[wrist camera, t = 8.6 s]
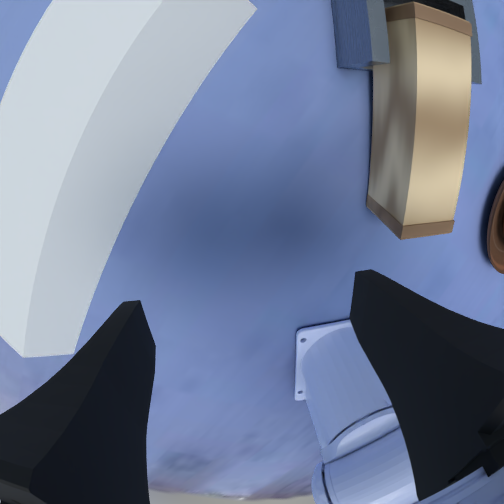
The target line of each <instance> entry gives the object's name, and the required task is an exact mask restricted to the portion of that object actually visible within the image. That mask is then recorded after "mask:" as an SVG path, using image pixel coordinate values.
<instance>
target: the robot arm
mask: <svg viewBox="0 0 504 504" xmlns="http://www.w3.org/2000/svg"><path fill="white" fill-rule="evenodd" d="M349 319H350V320H345V321H340V322H335V323H330V324H324V325H319V326H313V327H308V328H302V329H300V330H298V331H297V334H296V365H295V391H294V397H295V400H297V401H300V400H305V399H306V402H307V405H308V409H309V412H310V415H311V418H312V421H313V424H314V428H315V431H316V434H317V437H318V440H319V443H320V445H321V447H322V449H321V450H320V452H321V455H322V458H323V462H321V463H319V464H317V465H316V467H315V470H314V474H313V476H312V483H311V484H312V493H313V497H314V501H315V503H316V504H504V329H502V328H498V327H494V326H491V325H488V324H485V323H481V322H478V321H476V320H473V319H470V318H468V317H465V316H463V315H460V314H458V313H455V312H453V311H451V310H448V309H446V308H444V307H442V306H440V305H438V304H436V303H434V302H432V301H430V300H428V299H426V298H424V297H422V296H420V295H419V294H417V293H415V292H413V291H411V290H409V289H408V288H406V287H404V286H402V285H400V284H399V283H397V282H395V281H393V280H391V279H390V278H388V277H386V276H384V275H382V274H380V273H378V272H376V271H374V270H365V271H358V272H355V280H354V289H353V297H352V304H351V311H350V318H349ZM302 338H304V339H302ZM301 339H302V340H301ZM155 351H156V345H155V343H154V340H153V337H152V334H151V331H150V329H149V326H148V323H147V320H146V317H145V314H144V311H143V308H142V305H141V301H140V300H137V301H127V302H123V303H122V304H121V305H120V306H119V307H118V308H117V309H116V310H115V311H114V312H113V313H112V314H111V316H110V317H109V318H108V319H107V320H106V321H105V322H104V324H103V325H102V326H101V327H100V328H99V329H98V330H97V332H96V333H95V334H94V335H93V336H92V337H91V338H90V340H89V341H88V342H87V343H86V344H85V345H84V346H83V347H82V348H81V349H80V350H79V351H78V352H77V353H76V354H75V356H74V357H73V358H72V359H71V360H70V361H69V362H68V363H67V364H66V365H65V366H64V367H63V368H62V369H61V370H60V371H58V372H57V373H56V374H55V375H54V376H53V377H52V378H51V379H49V380H48V381H47V382H46V383H45V384H43V385H42V386H41V387H40V388H38V389H37V390H36V391H34V392H33V393H32V394H30V395H29V396H28V397H27V398H25V399H24V400H22V401H21V402H20V403H18V404H17V405H15V406H14V407H12V408H10V409H9V410H7V411H6V412H4V413H2V414H1V415H0V500H1V503H0V504H150V501H149V493H148V480H147V462H146V434H147V423H148V415H149V408H150V401H151V395H152V388H153V381H154V374H155Z"/></svg>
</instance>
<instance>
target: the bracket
mask: <svg viewBox="0 0 504 504" xmlns="http://www.w3.org/2000/svg"><path fill="white" fill-rule="evenodd" d="M409 2H417V3H420V4H423V5H426V6H429V7H432V8H435V9H438V10H441V11H443V12H446V13H449V14H451V15H454V16H456V17H459V18H461V19H464V20H466V21H468V22H470V23H471V25H472V37H471V84H482V83H481V64H480V52H479V43H478V34H477V27H476V20H475V14H474V8H473V3H472V0H331V4H332V13H333V22H334V31H335V42H336V54H337V68H347V69H359V70H369V71H373V66H374V65H381V64H389V63H390V54H389V42H388V32H387V23H386V15H385V8H387V7H391V6H395V5H400V4H404V3H409Z"/></svg>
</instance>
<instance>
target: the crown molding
mask: <svg viewBox="0 0 504 504" xmlns="http://www.w3.org/2000/svg"><path fill="white" fill-rule="evenodd" d="M256 10H257V8H256V7H255V6H254V5H253V4H252V3H251V2H250V1H249V0H52V2H51V3H50V5H49V7H48V8H47V10H46V11H45V13H44V15H43V16H42V18H41V20H40V21H39V23H38V25H37V26H36V28H35V30H34V32H33V34H32V35H31V37H30V39H29V41H28V43H27V45H26V47H25V49H24V51H23V53H22V55H21V57H20V59H19V61H18V63H17V65H16V67H15V69H14V72H13V74H12V76H11V79H10V81H9V83H8V86H7V88H6V91H5V93H4V96H3V98H2V101H1V104H0V336H1V337H2V338H3V339H4V340H5V341H6V342H7V343H8V344H9V345H10V346H11V347H12V348H13V349H14V350H15V351H17V352H18V353H19V354H20V355H21V356H22V357H23V358H24V357H41V356H55V355H67V354H74V351H75V347H76V344H77V341H78V338H79V335H80V332H81V329H82V326H83V323H84V320H85V317H86V314H87V311H88V308H89V306H90V303H91V300H92V297H93V295H94V292H95V289H96V287H97V284H98V282H99V279H100V277H101V274H102V272H103V269H104V267H105V264H106V262H107V259H108V257H109V255H110V252H111V250H112V248H113V245H114V243H115V241H116V238H117V236H118V234H119V232H120V230H121V227H122V225H123V223H124V221H125V219H126V217H127V215H128V212H129V210H130V208H131V206H132V204H133V202H134V200H135V198H136V196H137V194H138V192H139V190H140V188H141V186H142V184H143V182H144V180H145V178H146V177H147V175H148V173H149V171H150V169H151V167H152V165H153V163H154V162H155V160H156V158H157V156H158V154H159V153H160V151H161V149H162V147H163V145H164V144H165V142H166V140H167V138H168V137H169V135H170V133H171V132H172V130H173V128H174V127H175V125H176V123H177V122H178V120H179V118H180V117H181V115H182V113H183V112H184V110H185V109H186V107H187V105H188V104H189V102H190V101H191V99H192V98H193V96H194V94H195V93H196V91H197V90H198V88H199V87H200V85H201V84H202V82H203V81H204V79H205V78H206V76H207V75H208V74H209V72H210V71H211V69H212V68H213V66H214V65H215V63H216V62H217V61H218V59H219V58H220V56H221V55H222V54H223V52H224V51H225V50H226V48H227V47H228V46H229V44H230V43H231V42H232V40H233V39H234V38H235V36H236V35H237V34H238V32H239V31H240V30H241V28H242V27H243V26H244V25H245V23H246V22H247V21H248V20H249V18H250V17H251V16H252V15H253V14H254V12H255V11H256Z"/></svg>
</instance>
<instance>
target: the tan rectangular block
mask: <svg viewBox="0 0 504 504" xmlns="http://www.w3.org/2000/svg"><path fill="white" fill-rule="evenodd" d="M385 15H386V23H387V32H388V42H389V54H390V63H389V64H381V65H374V66H373V124H372V146H371V162H370V176H369V187H368V194H367V201H366V206H367V208H369V209H370V210H371V211H372V212H373V213H374V214H375V215H376V216H377V217H378V218H379V219H380V220H381V221H382V222H383V223H384V224H385V225H386V226H387V227H388V228H389V229H390V230H391V231H392V232H393V233H394V234H395V235H396V236H397V237H398V238H399V239H400V240H403V239H410V238H417V237H425V236H432V235H439V234H446V233H450V232H452V229H453V225H454V220H453V218H454V214H455V209H456V205H457V200H458V195H459V190H460V185H461V179H462V173H463V167H464V160H465V153H466V146H467V137H468V127H469V116H470V101H471V37H472V25H471V23H470V22H468V21H466V20H464V19H461V18H459V17H456V16H454V15H451V14H449V13H446V12H443V11H441V10H438V9H435V8H432V7H429V6H426V5H423V4H420V3H417V2H409V3H404V4H400V5H395V6H391V7H387V8H385Z"/></svg>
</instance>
